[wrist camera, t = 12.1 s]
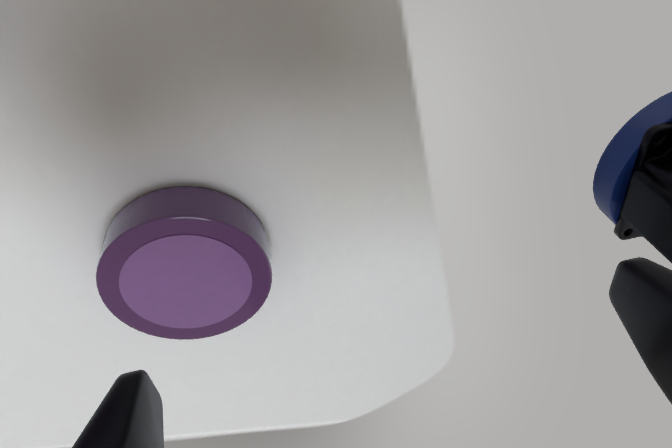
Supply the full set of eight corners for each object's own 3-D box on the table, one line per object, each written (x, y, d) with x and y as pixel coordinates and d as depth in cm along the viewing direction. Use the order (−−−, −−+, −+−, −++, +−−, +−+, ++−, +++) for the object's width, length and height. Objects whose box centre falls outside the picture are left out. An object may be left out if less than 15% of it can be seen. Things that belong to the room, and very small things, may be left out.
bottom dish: (249, 170, 19) (253, 200, 18) (280, 288, 23) (285, 321, 22) (76, 205, 19) (63, 239, 17) (139, 319, 23) (133, 355, 21)
